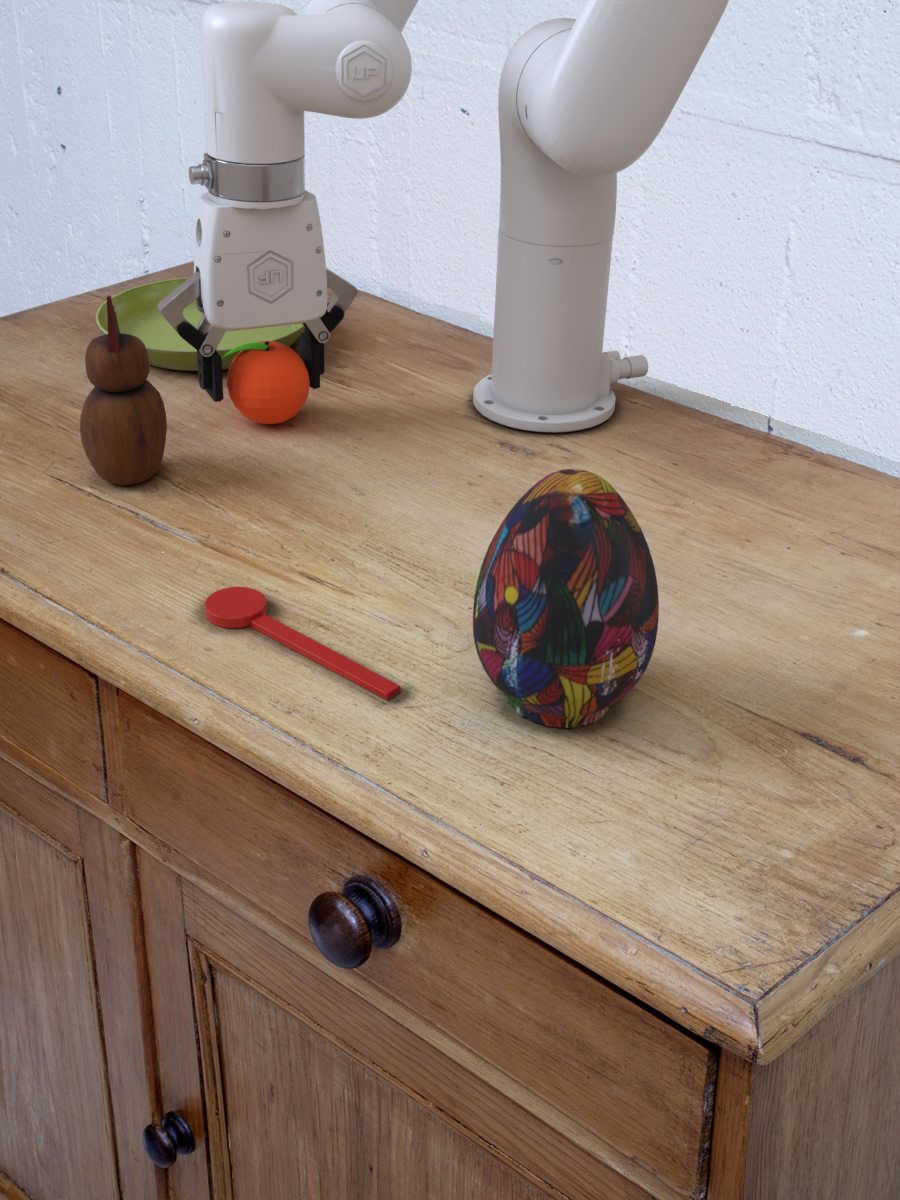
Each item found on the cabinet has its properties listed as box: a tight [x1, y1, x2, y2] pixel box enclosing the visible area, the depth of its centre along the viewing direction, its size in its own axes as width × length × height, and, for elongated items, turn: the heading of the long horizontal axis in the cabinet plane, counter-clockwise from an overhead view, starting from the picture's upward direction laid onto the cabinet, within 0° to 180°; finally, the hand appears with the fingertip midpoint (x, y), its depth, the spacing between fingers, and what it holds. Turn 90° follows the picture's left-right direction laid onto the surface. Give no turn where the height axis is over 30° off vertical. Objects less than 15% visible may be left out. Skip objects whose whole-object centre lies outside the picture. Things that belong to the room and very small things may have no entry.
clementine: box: [221, 341, 310, 425], centre depth 111 cm, size 8×7×7 cm
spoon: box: [204, 586, 401, 701], centre depth 83 cm, size 16×4×1 cm, turn 50°
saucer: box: [95, 276, 305, 372], centre depth 127 cm, size 21×21×3 cm
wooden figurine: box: [79, 295, 168, 486], centre depth 99 cm, size 7×6×15 cm
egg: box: [472, 468, 660, 729], centre depth 75 cm, size 11×11×15 cm
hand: (262, 388), depth 111 cm, fingers closed on clementine, 8 cm apart
